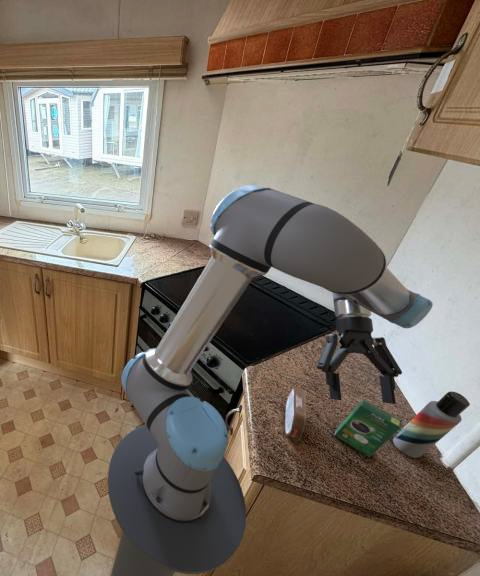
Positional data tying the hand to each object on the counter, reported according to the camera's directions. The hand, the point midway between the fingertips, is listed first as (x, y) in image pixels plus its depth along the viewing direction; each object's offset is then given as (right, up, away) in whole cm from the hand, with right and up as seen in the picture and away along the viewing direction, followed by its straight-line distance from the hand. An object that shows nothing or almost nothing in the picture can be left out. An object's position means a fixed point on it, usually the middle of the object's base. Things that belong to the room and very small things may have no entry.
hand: (362, 401), depth 77 cm
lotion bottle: (+13, -13, +2) cm, 18 cm away
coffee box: (-1, -12, +2) cm, 12 cm away
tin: (-15, -8, +6) cm, 18 cm away
